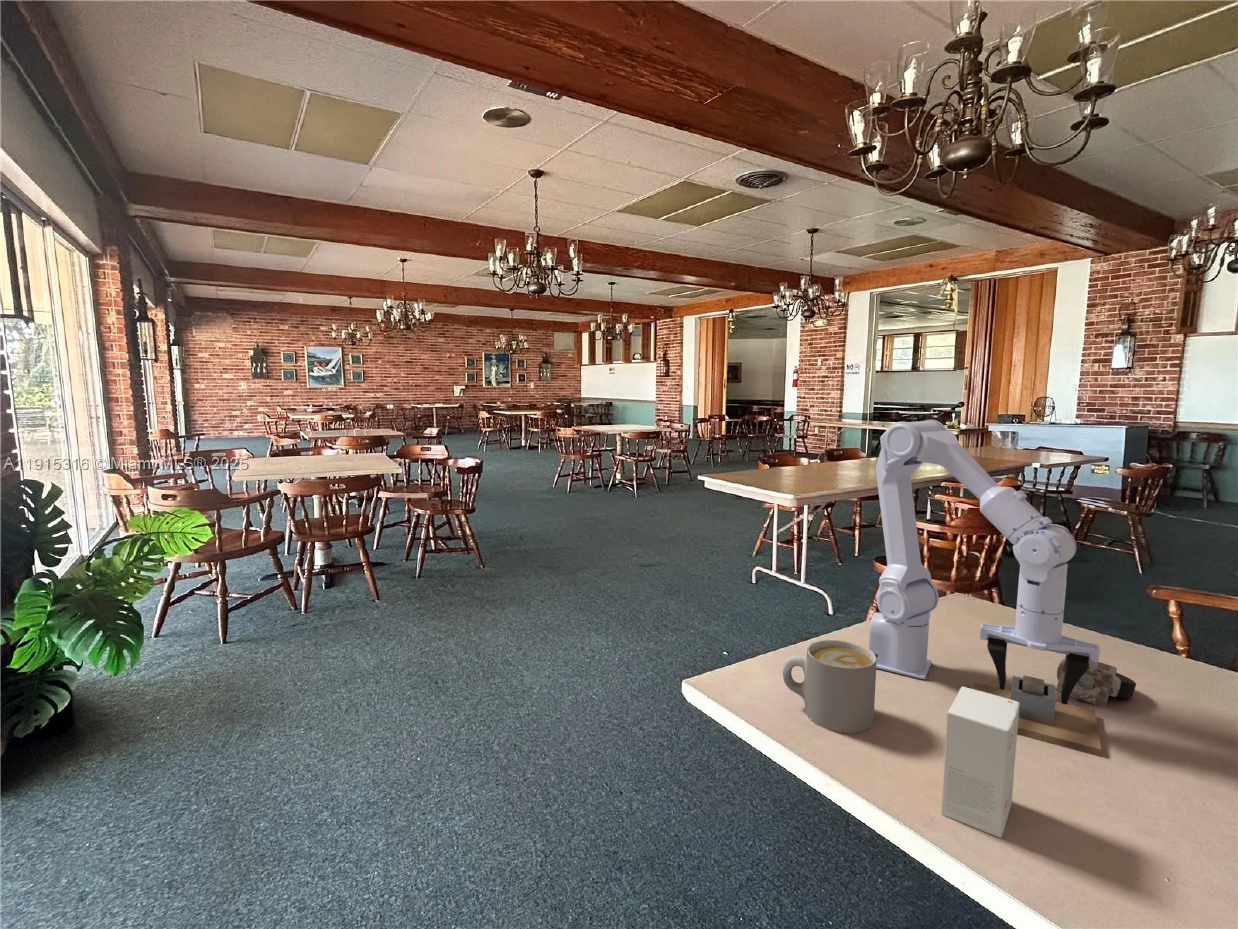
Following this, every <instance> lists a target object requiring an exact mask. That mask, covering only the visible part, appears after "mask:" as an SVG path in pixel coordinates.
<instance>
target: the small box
mask: <svg viewBox="0 0 1238 929" xmlns="http://www.w3.org/2000/svg"><path fill="white" fill-rule="evenodd" d="M1018 717H1019V702H1017V701H1014V700H1010V699H1007V698H1004V697H1000V696H997V695H993V694H989V693H985V692H982V691H978V690H974V689H972V688H968V687H966V686H960V688H959V690H958V692H957V693H956V696H955V697H954V699H953V700H952V703H951V705H949V708H948V710H947V712H946V727H945V728H946V729H945V742H944V743H945V745H944V746H945V747H944V760H943V761H944V762H943V779H942V794H941V797H942V798H941V807H940V808H941V811H940V814H942V815H943V816H945V817H947V818H950V819H953V820H955V821H958V822H960V823H963V824H964V825H968V826H969V827H972V828H974V829H977V830H980V831H982V832H984V833H986V834H989V835H992V836H995V837H998V838H1000V839H1001V838H1002V837H1003V835H1004V832H1005V828H1006V825H1007V821H1008V817H1009V814H1010V812H1011V807H1012V803H1013V792H1014V778H1015V776H1014V774H1015V763H1016V762H1015V761H1016V751H1017V741H1018V734H1017V730H1018Z"/></svg>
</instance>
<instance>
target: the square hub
mask: <svg viewBox="0 0 1238 929" xmlns="http://www.w3.org/2000/svg"><path fill="white" fill-rule="evenodd" d="M1022 686H1023V677H1020V676H1015V675H1012V679H1011V698H1010V700H1014V701H1017V702H1019V717H1018V718H1022V719H1026V720H1030V721H1034V722H1038V723H1042V724H1045V725H1049V726H1053V724H1054V713H1055V702H1056V701H1057V700H1056V685H1055V684H1052V683H1047V682H1044V694H1043V695H1041V694H1037V693H1032V692H1028V691H1024V690H1022Z"/></svg>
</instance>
